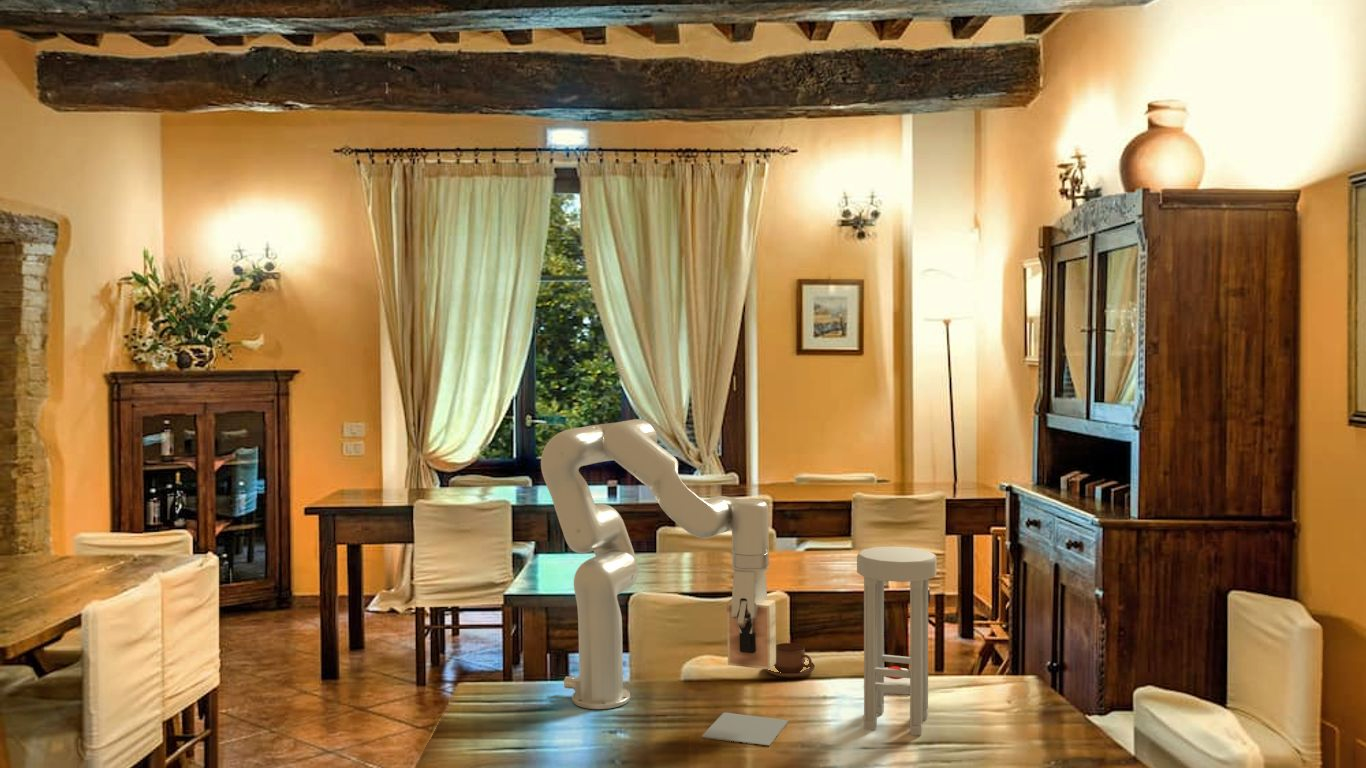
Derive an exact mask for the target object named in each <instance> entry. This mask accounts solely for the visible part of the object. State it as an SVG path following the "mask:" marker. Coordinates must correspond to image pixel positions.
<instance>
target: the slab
mask: <svg viewBox="0 0 1366 768" xmlns="http://www.w3.org/2000/svg"><path fill="white" fill-rule="evenodd" d="M776 608H777V607H776V600H773V599H767V600H764V601H763V602H762V603H761V604H759V607H758V616H757V617H756V618H755V619H754V633H755V641H756V652H755V653H743V652H740V633H739V625H738V617H739V615H738V617H737V618H733V617H732V598H730V600H728V601H727V602H726V625H727V626H726V627H727V628H726V631H727V634H726V635H727V640H726V642H727V645H726V646H727V666H734V667H743V668H744V667H745V668H753V669H761V670H762V669H763V670H765V669H771V668H772V667H773V666H774V665H775V664H776V645H777V636H776V635H777V633H776V631H777V629H776V626H777V625H776V624H777V623H776V621H777V619H776V616H777V615H776ZM739 612H740V609H739ZM750 616H751V615H746V618H750ZM746 622H747V623H749V625H750V621H746Z"/></svg>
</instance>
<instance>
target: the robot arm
mask: <svg viewBox="0 0 1366 768" xmlns="http://www.w3.org/2000/svg"><path fill="white" fill-rule="evenodd" d="M540 458H541V459H540V468H541V473H542V477H543V480H544V483H545V484H546V488H547V489H548V492H549V495H550V497H551V500H552V502H553V506H554V510H555V513H556V516H557V519H558V522H559V525H560V529H561V531H562V533H563V534H562V535H563V537H564V540H565V543H566V544H567V546H568V548H569V549H570V550H571V551H573V552H574V553H576V554H587V553H591V552H593V553H594V555H595V556H593V557H591V558H588V559H587V560H585V561H584V562H582V563H581V564H580V566H579V567H578V568H577V570H576V571H575V574H574V577H573V578H574V579H573V590H574V595H575V596H574V597H575V600H576V606H577V619H578V621H577V622H578V623H577V624H578V626H577V627H578V675H579V676H578V677H574V676H565V677H564V679H563V683H564V685H563V687H564V689H568V690H570V689H573V690H574V692H573V694H572V698H571V699H572V702H573V703H574V704H575V705H576V706H577V707H581V708H584V709H590V710H607V709H608V710H609V709H614V708H619V707H621V706H624V705H625V704H627V703H629V701H630V700H631V692H630V691H629V690H627V689H626V688H624V678H623V677H624V671H623V662H624V661H623V659H624V657H623V618H622V617H623V616H622V612H621V608H620V604H619V600H618V595H620V594H621V593H623V592H625V591H627V590H629V589H630V588H632V586H634V584H635V583H636V582H637V579H638V577H639V565H638V564H639V563H638V560H637V557H636V553H635V551H634V548H633V545H632V542H631V539H630V536H629V533H628V530H627V527H626V524H625V522H624V519H623V518H622V516H621V514H620V513H619V512H618V511H617V510H616V509H615V508H614V507H612V506H611V505H609V504H605V503H595V500H594V498H593V496H592V492H591V490H590V487H589V485H588V483H587V481H586V479H585V478H584V477H583V475H582V474H581V473H580V468H581V467H583V466H584V467H585V466H588V465H593V464H598V463H603V462H604V463H605V462H610V461H615V463H617V464H618V465H619V466H621V468H623V469H624V470H626V471H627V472H628V473H629V474H631V475H632V476H634V477H635V478H636V479H637V480H638V481H639V482H641V484H643V485H644V486H646V487H647V488H648V489H649V490H650V491H651V492H652V495H653V497H654V498H655V500H656V502H657V503H658V504H659V507H660V508H661V509H662V511H663V512H664V514H666V516H668V517H669V518H670V519H671V520H672V521H673V522H675V523H676V525H678V526H679V527H681V528H682V529H683V530H684V531H686V532H687V533H689V534H690V535H692V536H694V537H696V538H698V539H703V540H705V539H706V540H708V539H711V538H713V537H716V536H718V535H720V534H724V533H727V532H729V531H731V556H732V557H731V560H732V561H731V562H732V563H731V564H732V565H731V567H732V569H733V570H734V572H733V578H732V579H733V580H732V595H731V599H732V617H733V618H737V617H738V615H739V617H738V625H739V633H740V652H743V653H755V652H756V641H755V633H754V619H755V618H756V617H757V616H758V607H759V604H761V603H762V602H763V601H764V600H768V587H767V586H768V585H767V570H768V569H770V548H769V547H770V544H769V543H770V542H769V540H770V537H769V535H770V534H769V533H770V531H769V529H770V528H769V518H770V517H769V506H768V504H767V503H766V501H764V500H761V499H754V498H752V499H739V498H734V497H730V496H725V495H717V496H713V497H710V498H707V499H702V498H701V497H700V496H699V495H697V494H696V493H695V492H694V491H692V490H691V489H690V488H688V487H687V485H686V484H685V483H684V482H683V481H682V479H681V477H680V475H679V461H678V459H677V458H676V457H675V456H673V454H671V453H670V452H668V451H667V450H666V449H665V448H664V447H662V446H661V445H659V444H658V434H657V431H656V430H655V428H654V426H652V424H650V423H649V422H647V421H646V420H643V419H639V418H634V419H628V420H622V421H618V422H609V423H601V424H592V425H587V426H582V427H574V428H569V429H565V430H563V431H561V432H558V433H556V434H555V435H554V436H552V437H551V439H549V440H548V441H547V443H546V445H545V446H544V448H543V451H542V453H541V457H540ZM739 609H740V612H739ZM746 615H751V616H750V618H746ZM746 621H750V625H749V623H747V622H746Z"/></svg>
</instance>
